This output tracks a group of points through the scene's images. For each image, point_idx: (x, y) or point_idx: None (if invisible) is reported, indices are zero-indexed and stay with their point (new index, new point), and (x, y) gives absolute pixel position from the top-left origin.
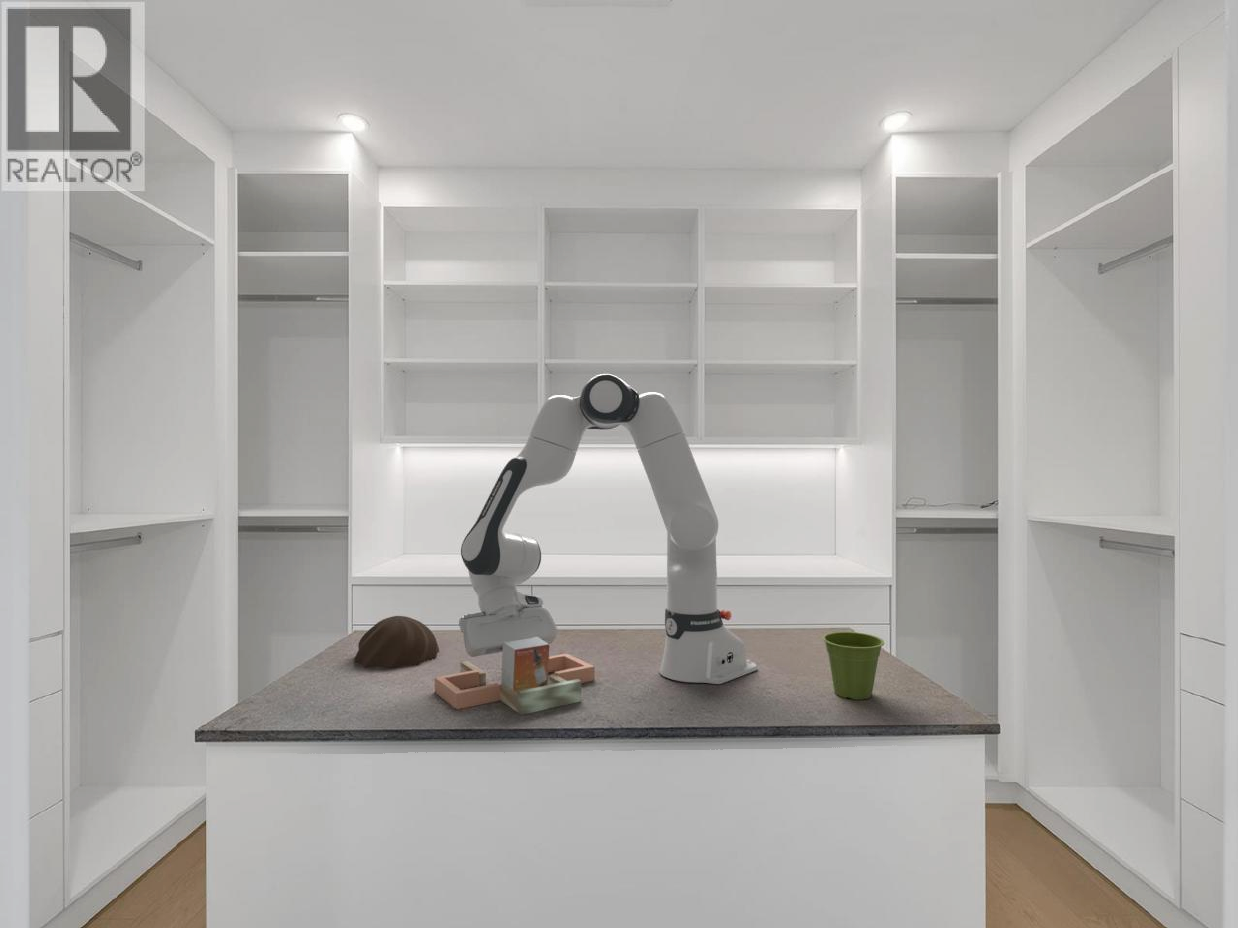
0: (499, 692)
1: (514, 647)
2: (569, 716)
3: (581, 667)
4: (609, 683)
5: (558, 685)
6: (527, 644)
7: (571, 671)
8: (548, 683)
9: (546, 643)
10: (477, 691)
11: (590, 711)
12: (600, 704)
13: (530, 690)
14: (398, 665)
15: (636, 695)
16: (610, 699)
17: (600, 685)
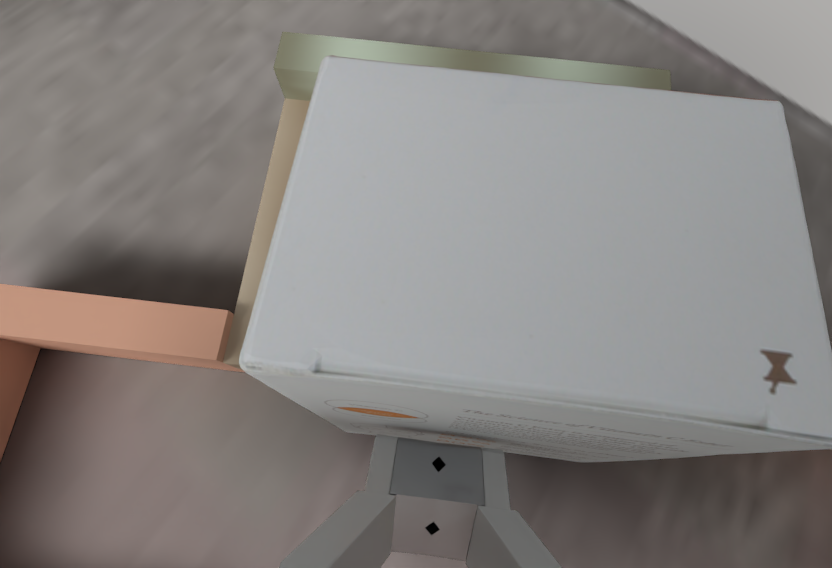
0: None
1: (761, 156)
2: (461, 17)
3: (13, 316)
4: (10, 210)
5: (431, 50)
6: (569, 148)
7: (122, 300)
8: None
9: (334, 83)
10: None
11: (361, 7)
12: (274, 36)
13: (605, 78)
14: None
15: (78, 21)
16: (196, 51)
17: (68, 216)
